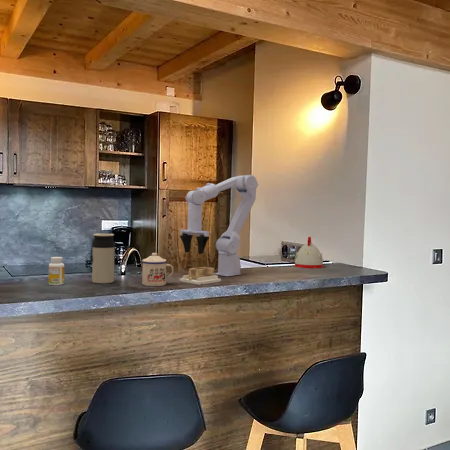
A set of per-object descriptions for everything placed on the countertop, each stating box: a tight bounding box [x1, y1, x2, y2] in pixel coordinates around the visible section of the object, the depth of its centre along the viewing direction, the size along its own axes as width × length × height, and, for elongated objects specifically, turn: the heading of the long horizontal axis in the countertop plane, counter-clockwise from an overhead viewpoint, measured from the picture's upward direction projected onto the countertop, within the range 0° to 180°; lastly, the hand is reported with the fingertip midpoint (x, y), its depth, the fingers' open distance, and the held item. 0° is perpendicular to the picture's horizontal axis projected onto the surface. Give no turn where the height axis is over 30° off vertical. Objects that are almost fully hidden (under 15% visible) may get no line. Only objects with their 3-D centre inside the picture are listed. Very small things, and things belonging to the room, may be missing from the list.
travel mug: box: [91, 233, 116, 285], centre depth 184 cm, size 8×8×18 cm
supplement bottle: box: [48, 256, 65, 286], centre depth 177 cm, size 5×5×10 cm
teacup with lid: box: [141, 252, 174, 287], centre depth 182 cm, size 12×9×12 cm
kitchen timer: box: [294, 236, 324, 269], centre depth 246 cm, size 14×14×15 cm
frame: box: [188, 266, 215, 280], centre depth 192 cm, size 9×5×4 cm, turn 139°
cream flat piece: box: [178, 274, 222, 286], centre depth 191 cm, size 12×11×2 cm
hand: (194, 252), depth 202 cm, fingers open, 7 cm apart
